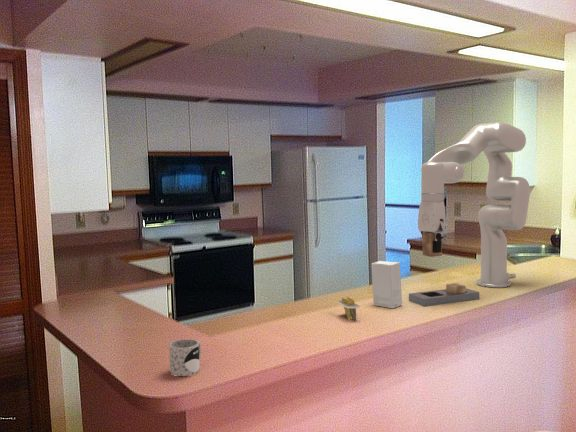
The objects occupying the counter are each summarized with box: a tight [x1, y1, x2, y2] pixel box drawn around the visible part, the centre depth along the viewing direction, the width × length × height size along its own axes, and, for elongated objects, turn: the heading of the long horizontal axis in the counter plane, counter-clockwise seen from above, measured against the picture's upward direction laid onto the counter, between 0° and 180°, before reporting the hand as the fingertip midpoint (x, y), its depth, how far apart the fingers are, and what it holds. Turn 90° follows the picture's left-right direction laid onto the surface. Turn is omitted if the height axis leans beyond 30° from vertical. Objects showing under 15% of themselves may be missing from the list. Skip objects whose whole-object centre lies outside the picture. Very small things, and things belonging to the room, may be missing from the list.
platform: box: [338, 296, 361, 322], centre depth 164 cm, size 12×18×7 cm, turn 17°
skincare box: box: [371, 260, 403, 309], centre depth 178 cm, size 8×6×15 cm
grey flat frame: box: [408, 287, 480, 307], centre depth 185 cm, size 23×9×2 cm, turn 111°
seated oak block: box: [445, 282, 466, 294], centre depth 186 cm, size 5×5×5 cm
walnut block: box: [422, 232, 443, 258], centre depth 182 cm, size 5×5×8 cm
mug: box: [168, 338, 202, 377], centre depth 123 cm, size 10×7×7 cm, turn 158°
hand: (432, 250), depth 182 cm, fingers closed on walnut block, 4 cm apart
